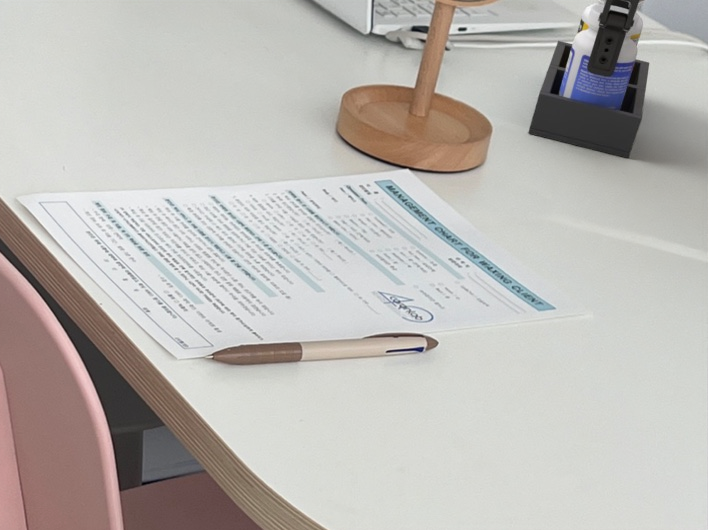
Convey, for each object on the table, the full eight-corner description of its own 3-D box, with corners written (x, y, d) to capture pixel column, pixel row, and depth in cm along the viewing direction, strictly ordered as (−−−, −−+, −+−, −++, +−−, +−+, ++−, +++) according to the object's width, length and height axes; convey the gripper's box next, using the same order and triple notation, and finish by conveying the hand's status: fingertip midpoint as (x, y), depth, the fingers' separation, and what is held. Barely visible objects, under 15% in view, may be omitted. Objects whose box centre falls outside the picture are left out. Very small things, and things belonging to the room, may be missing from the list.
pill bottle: (625, 135, 113) (662, 23, 107) (577, 138, 110) (612, 23, 105) (586, 110, 116) (620, 0, 111) (538, 112, 114) (570, 0, 108)
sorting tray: (547, 76, 124) (558, 40, 122) (637, 98, 123) (649, 62, 121) (528, 133, 111) (539, 93, 109) (628, 158, 109) (641, 118, 107)
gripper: (717, -126, 94) (641, 100, 104) (716, -155, 106) (648, 50, 115) (614, -148, 95) (549, 77, 105) (624, -175, 107) (565, 30, 116)
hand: (601, 62), depth 110 cm, fingers closed on pill bottle, 5 cm apart
